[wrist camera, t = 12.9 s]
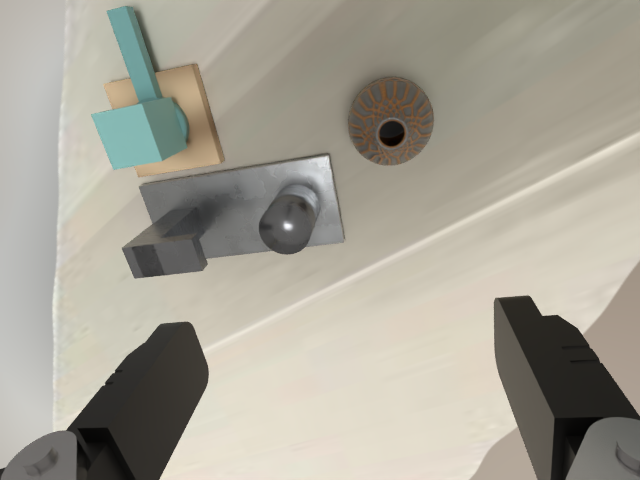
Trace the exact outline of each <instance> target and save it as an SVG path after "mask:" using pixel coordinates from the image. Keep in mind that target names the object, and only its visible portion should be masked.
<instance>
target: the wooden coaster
mask: <svg viewBox="0 0 640 480" xmlns="http://www.w3.org/2000/svg"><path fill="white" fill-rule="evenodd" d="M155 76H156V79H157V82H158V85H159V88H160V91H161V94H162V97H165V98H168V97H171V98H172V101H174V102H175V103H177V104H178V105H179V106H180V107H181V108H182V110H183V111H184V113H185V114H186V116H187V119H188V122H189V137H188V140H187V142H186V144H187V148H186V149H184V150H182V151H181V152H179V153H177V154H175V155H173V156H171V157H169V158H167V159H165V160H163V161H160V162H154V163H149V164H143V165H137V166H134V167H135V170H136V172H137V175H138V177H143V176H149V175H155V174H161V173H167V172H173V171H179V170H185V169H191V168H197V167H203V166H209V165H215V164H221V163H222V162H223V161H225V160H224V156H223V153H222V149H221V146H220V142H219V139H218V135H217V132H216V129H215V125H214V122H213V118H212V115H211V111H210V108H209V104H208V101H207V97H206V94H205V90H204V87H203V83H202V80H201V76H200V73H199V69H198V66H197V64H193V65H188V66H183V67H178V68H174V69H169V70H165V71H160V72H156V73H155ZM103 85H104V88H105V90H106V93H107V96H108V98H109V101H110V103H111V106H112V109H117V108H121V107H126V106H130V105H135V104H137V103H138V102H139V101H138V98H137V95H136V92H135V89H134V87H133V84H132V81H131V78H129V79H124V80H120V81H115V82H111V83H106V84H103Z"/></svg>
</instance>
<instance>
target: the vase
mask: <svg viewBox="0 0 640 480" xmlns="http://www.w3.org/2000/svg"><path fill="white" fill-rule="evenodd" d="M433 123H434V116H433V109H432V106H431V103H430V101H429V99H428V97H427V95H426V94H425V93H424V91H423V90H422V89H421V88H420V87H418V86H417V85H416V84H414V83H413V82H411V81H408V80H406V79H403V78H397V77H389V78H383V79H380V80H377V81H375V82H373V83H371V84H369V85H368V86H366V87H365V88H364V89H363V90H362V91H361V92H360V93H359V94H358V96H357V97H356V99H355V100H354V102H353V104H352V106H351V109H350V113H349V119H348V128H349V134H350V137H351V140H352V142H353V144H354V146H355V148H356V149H357V150H358V151H359V153H360V154H361V155H362V156H364V157H365V158H366V159H368V160H370V161H372V162H374V163H377V164H381V165H398V164H401V163H404V162H407V161H409V160H411V159H412V158H414V157H415V156H416V155H418V154H419V153H420V152H421V151H422V149H423V148H424V147H425V146H426V144H427V142H428V141H429V138H430V136H431V133H432V129H433Z"/></svg>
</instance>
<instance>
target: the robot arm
mask: <svg viewBox="0 0 640 480" xmlns="http://www.w3.org/2000/svg"><path fill="white" fill-rule="evenodd" d="M494 345H495V358H496V364H497V369H498V373H499V376H500V379H501V381H502V384H503V387H504V389H505V392H506V395H507V398H508V400H509V403H510V406H511V409H512V411H513V414H514V417H515V419H516V422H517V425H518V428H519V430H520V433H521V436H522V438H523V441H524V444H525V447H526V449H527V452H528V455H529V457H530V460H531V463H532V466H533V468H534V471H535V474H536V476H537V479H538V480H640V416H639V415H638V413H637V412H636V410H635V409H634V407H633V406H632V405H631V404H630V402H629V401H628V399H627V398H626V397H625V395H624V393H623V392H622V391H621V389H620V388H619V386H618V385H617V383H616V382H615V381H614V379H613V378H612V376H611V375H610V374H609V372H608V371H607V369H606V368H605V367H604V365H603V364H602V363H600V361H599V358H598V357H597V355H596V354H595V352H594V351H593V350H592V349H590V347H589V344H588V343H587V341H586V340H585V338H584V337H583V335H582V334H581V333H580V331H579V330H578V328H576V327H575V326H573V325H572V324H570V323H569V322H567V321H566V320H564V319H563V318H561V317H560V316H558V315H551V316H542V315H541V313H540V311H539V310H538V308H537V306H536V305H535V303H534V301H533V300H532V298H531V297H530V296H515V297H502V298H495V300H494ZM208 377H209V371H208V365H207V362H206V359H205V356H204V354H203V351H202V348H201V346H200V343H199V340H198V338H197V335H196V332H195V330H194V327H193V326H192V324H191V323H189V322H176V323H164V324H160V325H159V326H158V327H157V328H156V330H155V331H154V332H153V333H152V335H151V336H150V337H149V338H148V340H147V341H146V342H145V343H143V344H142V345H141V346H139V347H138V348H137V349H135V350H134V351H133V352H132V353H130V354H129V355H128V356H127V357H126V358H125V359H124V360H123V361H122V363H121V364H120V365H119V366H118V368H117V369H116V370H115V373H113V374H112V375H111V376H110V377H109V379H108V380H107V381H106V382H105V386H102V387H101V388H100V390H99V391H98V392H97V393H96V394H95V396H94V397H93V398H92V399H91V401H90V402H89V403H88V404H87V405H86V407H85V408H84V409H83V410H82V412H81V413H80V414H79V415H78V416H77V418H76V419H75V420H74V421H73V422H72V424H71V425H70V426H69V427H68V429H67V430H66V431H57V432H53V433H50V434H47V435H45V436H43V437H41V438H39V439H37V440H35V441H34V442H32V443H30V444H29V445H28V446H26V447H25V448H24V449H22V450H21V451H20V452H19V453H18V454H17V455H16V456H15V457H14V458H13V459H12V460H11V461H10V462H9V464H8V465H7V467H6V468H3V469H0V480H159V479H160V477H161V475H162V473H163V471H164V469H165V467H166V465H167V463H168V461H169V459H170V457H171V455H172V453H173V451H174V449H175V448H176V446H177V444H178V442H179V440H180V438H181V436H182V434H183V432H184V430H185V428H186V426H187V424H188V422H189V420H190V418H191V416H192V414H193V412H194V410H195V408H196V406H197V404H198V402H199V400H200V399H201V397H202V395H203V393H204V391H205V389H206V386H207V383H208Z"/></svg>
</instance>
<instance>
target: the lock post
mask: <svg viewBox="0 0 640 480" xmlns="http://www.w3.org/2000/svg"><path fill="white" fill-rule="evenodd" d="M139 189H140V191H141V194H142V197H143V199H144V202H145V205H146V207H147V210H148V212H149V215H150V218H151V220H152V223H153V224H152V225H151V226H150V227H148V228H147V229H146V230H144V231H143V232H142V233H141V234H139V235H138V236H137V237H135V238H134V239H133V240H132V241H130V242H129V243H128V244H126V245H125V246H124V247H122V250H123V252H124V255H125V257H126V259H127V262H128V264H129V267H130V269H131V271H132V274H133V276H134V278H144V277H153V276H162V275H171V274H180V273H188V272H197V271H203V270H204V268H205V267H206V266H207V261H206V259H207V258H216V257H224V256H233V255H241V254H250V253H258V252H267V251H275V252H277V253H280V254H294V253H297V252H299V251H301V250H302V249H303V248H305V247H309V246H317V245H326V244H334V243H343V242H344V239H345V237H344V232H343V226H342V221H341V215H340V210H339V204H338V199H337V193H336V188H335V182H334V177H333V171H332V166H331V160H330V155H329V154H324V155H318V156H312V157H306V158H299V159H293V160H287V161H281V162H275V163H269V164H262V165H256V166H250V167H244V168H238V169H232V170H226V171H219V172H213V173H207V174H201V175H195V176H189V177H182V178H176V179H170V180H164V181H158V182H152V183H145V184H142V185H141V186H139Z"/></svg>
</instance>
